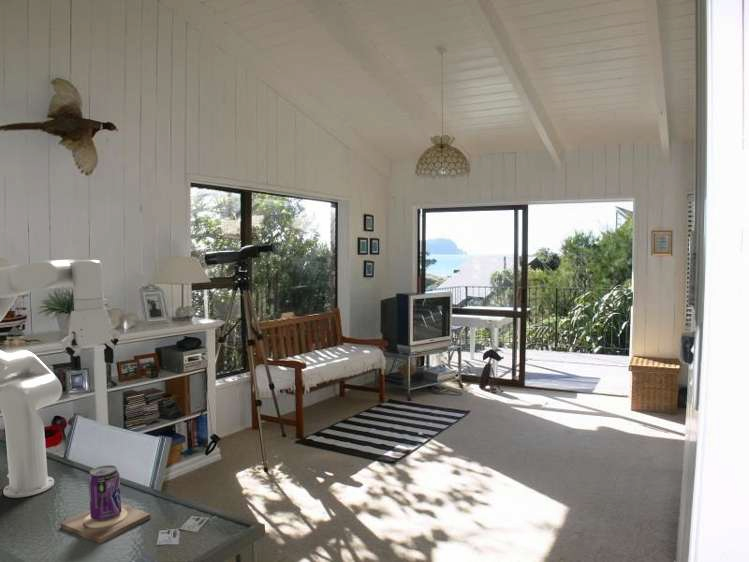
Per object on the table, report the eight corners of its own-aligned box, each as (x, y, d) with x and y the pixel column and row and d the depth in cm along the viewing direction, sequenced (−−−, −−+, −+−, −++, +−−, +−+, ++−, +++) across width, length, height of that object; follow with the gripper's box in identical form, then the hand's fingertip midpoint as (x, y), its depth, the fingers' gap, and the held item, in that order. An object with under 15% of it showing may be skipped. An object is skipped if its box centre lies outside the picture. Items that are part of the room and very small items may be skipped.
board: (60, 527, 145) (60, 521, 145) (111, 504, 157) (111, 499, 157) (100, 543, 137) (99, 537, 137) (150, 518, 149) (150, 512, 149)
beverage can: (109, 523, 143) (106, 476, 142) (84, 521, 144) (81, 474, 144) (127, 510, 150) (124, 465, 149) (103, 508, 151) (100, 463, 151)
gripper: (109, 301, 170) (112, 359, 171) (50, 308, 155) (54, 371, 156) (125, 302, 166) (129, 361, 167) (66, 309, 151) (71, 374, 152)
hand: (93, 366), depth 162 cm, fingers open, 9 cm apart
